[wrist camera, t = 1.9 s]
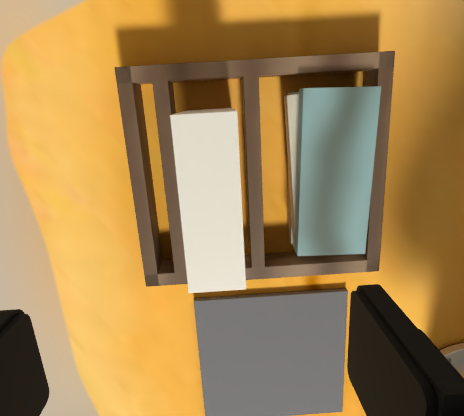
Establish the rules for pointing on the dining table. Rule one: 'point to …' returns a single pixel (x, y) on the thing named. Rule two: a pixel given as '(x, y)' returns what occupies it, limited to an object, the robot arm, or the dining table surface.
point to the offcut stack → (330, 167)
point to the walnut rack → (256, 262)
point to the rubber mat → (272, 352)
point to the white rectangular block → (210, 198)
